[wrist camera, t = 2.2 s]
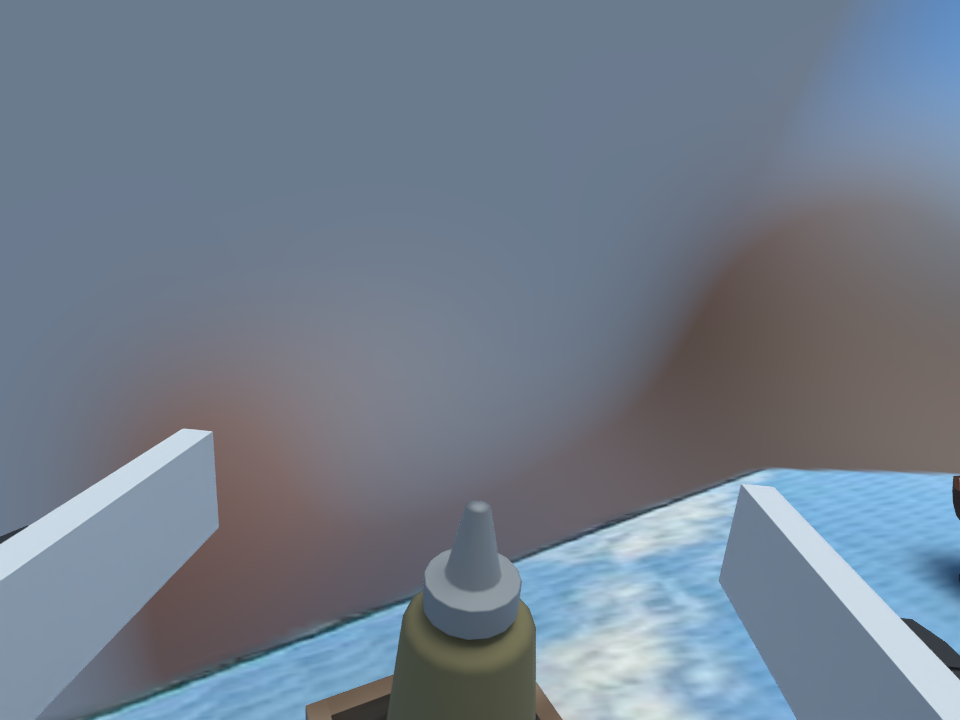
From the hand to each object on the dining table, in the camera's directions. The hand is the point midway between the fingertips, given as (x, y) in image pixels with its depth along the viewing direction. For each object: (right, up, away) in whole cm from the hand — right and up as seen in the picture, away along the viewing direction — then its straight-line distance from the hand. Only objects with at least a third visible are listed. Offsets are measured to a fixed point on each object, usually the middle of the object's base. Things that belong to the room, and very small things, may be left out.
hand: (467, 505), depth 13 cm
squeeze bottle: (-1, -21, +16) cm, 26 cm away
